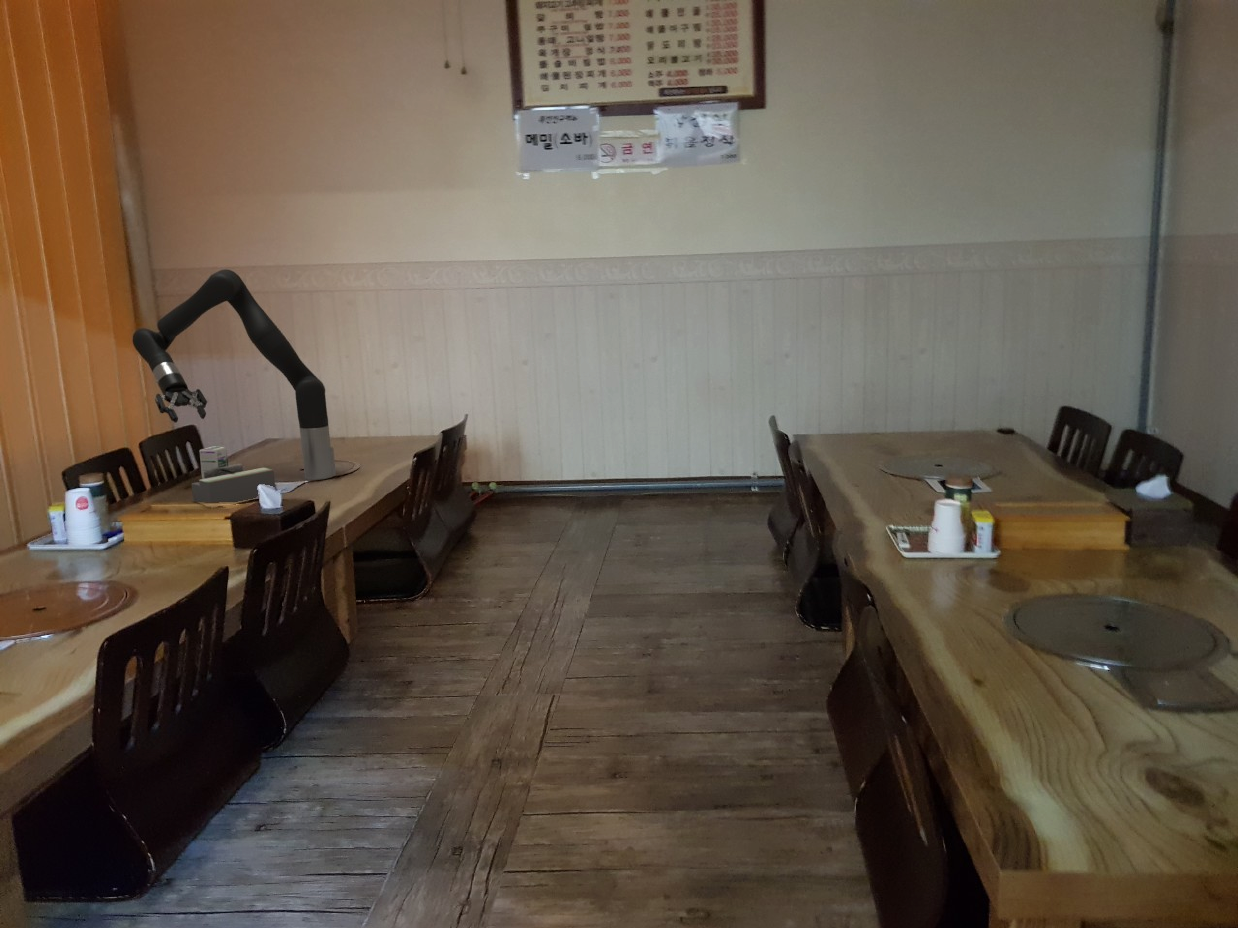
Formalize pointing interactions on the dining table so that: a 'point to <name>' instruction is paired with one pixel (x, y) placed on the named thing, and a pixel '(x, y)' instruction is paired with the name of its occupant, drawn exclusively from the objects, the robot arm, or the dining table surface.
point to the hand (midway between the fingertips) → (190, 419)
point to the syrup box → (213, 457)
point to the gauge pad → (221, 471)
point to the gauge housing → (232, 486)
